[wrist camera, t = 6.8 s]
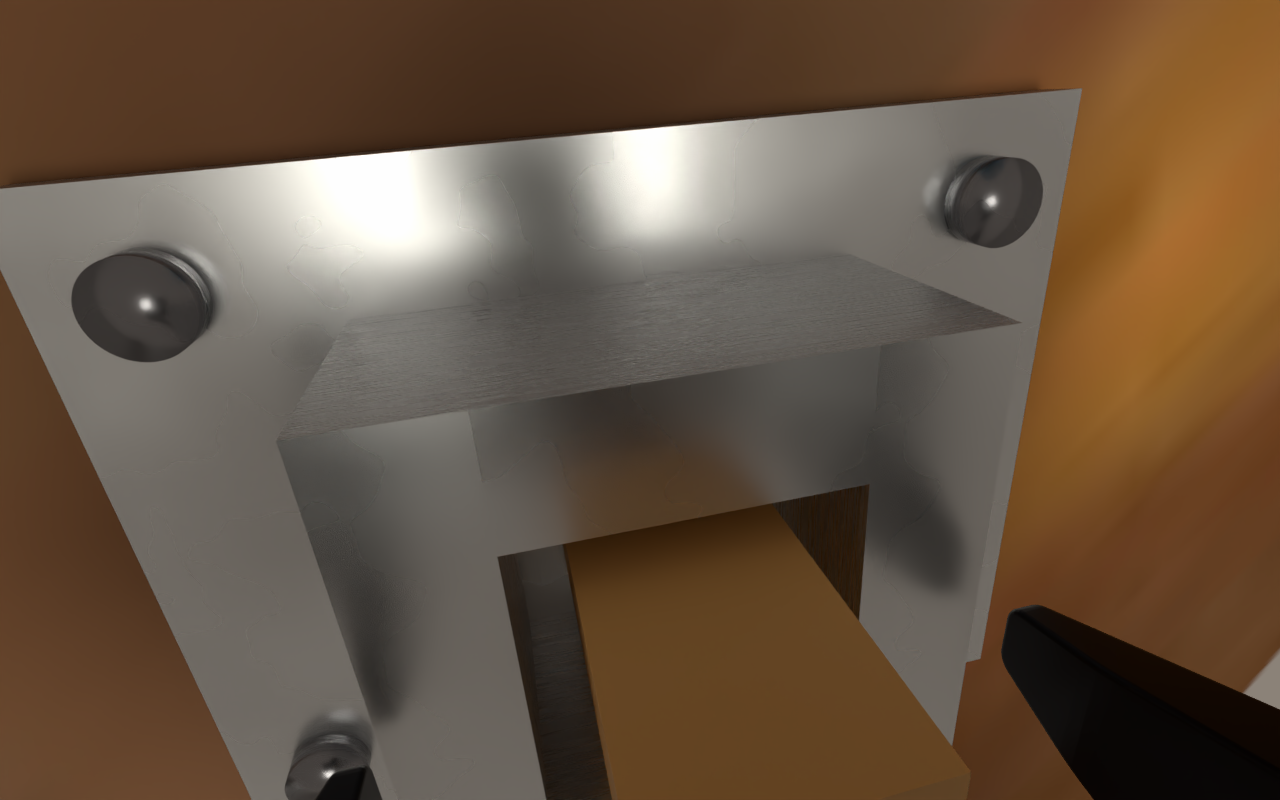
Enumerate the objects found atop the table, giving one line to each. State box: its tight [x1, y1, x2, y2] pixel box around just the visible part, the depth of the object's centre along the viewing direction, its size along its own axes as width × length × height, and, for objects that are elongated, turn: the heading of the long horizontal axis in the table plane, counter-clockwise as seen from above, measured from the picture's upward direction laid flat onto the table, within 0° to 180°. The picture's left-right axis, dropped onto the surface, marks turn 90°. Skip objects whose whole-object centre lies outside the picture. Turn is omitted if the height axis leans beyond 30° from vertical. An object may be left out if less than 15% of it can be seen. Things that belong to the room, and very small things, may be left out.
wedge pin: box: [563, 503, 971, 800], centre depth 10 cm, size 3×3×8 cm
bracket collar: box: [0, 88, 1082, 800], centre depth 12 cm, size 14×18×6 cm
